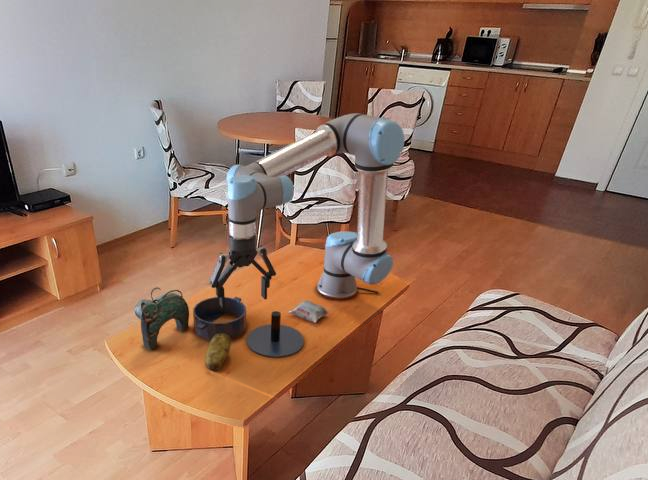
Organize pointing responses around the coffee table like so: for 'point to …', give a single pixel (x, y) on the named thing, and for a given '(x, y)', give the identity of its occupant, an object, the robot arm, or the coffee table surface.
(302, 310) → the packaged food
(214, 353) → the potato
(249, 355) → the coffee table surface
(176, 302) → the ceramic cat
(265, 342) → the lid
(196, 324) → the pot
